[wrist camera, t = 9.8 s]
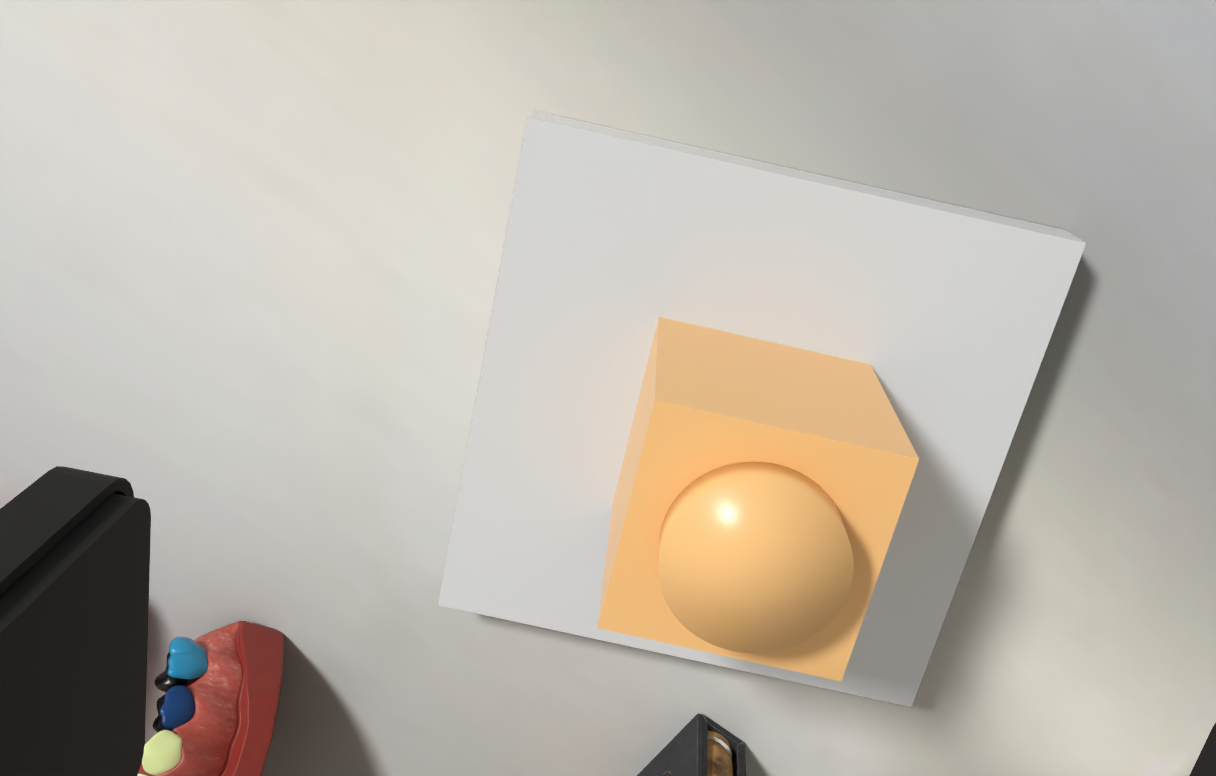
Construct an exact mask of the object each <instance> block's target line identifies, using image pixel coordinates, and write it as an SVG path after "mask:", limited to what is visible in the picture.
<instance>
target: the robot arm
mask: <svg viewBox="0 0 1216 776" xmlns="http://www.w3.org/2000/svg"><path fill="white" fill-rule="evenodd" d="M150 528H151V514H150V507H149V504H148V503H147V502H146V501H145V500H143V499H138V498H134V494H133V490H132V487H131V484H130V483H129V482H128V481H127V480H126V479H124V478H119V477H114V476H109V475H104V474H99V473H94V472H89V471H84V470H79V469H73V468H68V467H58V466H57V467H55V468H53V469H51V470H49V471H48V472H47V473H45V474H44V475H43V476H42V477H40V478H39V479H38V480H37V481H35V482H34V483H33V484H31V485H30V486H29V487H28V488H26V489H25V490H24V491H23V492H21V493H20V494H19V495H18V496H16V497H15V498H14V499H12V500H11V501H10V502H9V503H7V504H6V505H5V506H4V507H2V508H1V509H0V776H137V775H138V772H139V769H140V766H141V763H142V758H143V754H144V744H145V708H146V672H147V636H148V600H149V564H150ZM1190 776H1216V723H1215V725H1214V726H1213V728H1212V730H1211V732H1210V734H1209V736H1208V738H1207V741H1206V743H1205V745H1204V747H1203V749H1202V751H1201V753H1200V755H1199V757H1198V759H1197V761H1196V763H1195V766H1194V768H1193V770H1192V772H1191V774H1190Z"/></svg>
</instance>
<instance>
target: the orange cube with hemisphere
mask: <svg viewBox="0 0 1216 776" xmlns="http://www.w3.org/2000/svg"><path fill="white" fill-rule="evenodd" d="M918 462H919V458H918V456H917V454H916V452H915V450H914V448H913V446H912V444H911V442H910V440H909V438H908V436H907V434H906V432H905V430H904V428H903V426H902V425H901V423H900V421H899V419H898V417H897V415H896V413H895V411H894V409H893V407H892V405H891V403H890V401H889V399H888V397H887V395H886V393H885V392H884V390H883V388H882V386H881V384H880V382H879V380H878V378H877V376H876V374H875V372H874V370H873V368H872V366H871V365H870V364H866V363H861V362H857V361H853V360H848V359H844V358H839V357H835V356H831V355H826V354H822V353H817V352H813V351H809V350H804V349H800V348H795V347H791V346H787V345H782V344H778V343H773V342H769V341H764V340H760V339H756V338H751V337H747V336H742V335H738V334H734V333H729V332H725V331H720V330H716V329H712V328H707V327H703V326H698V325H694V324H689V323H685V322H681V321H676V320H672V319H667V318H663V317H658V321H657V326H656V330H655V334H654V338H653V342H652V346H651V350H650V354H649V358H648V362H647V366H646V370H645V374H644V379H643V383H642V387H641V391H640V395H639V399H638V403H637V407H636V411H635V415H634V419H633V423H632V428H631V432H630V436H629V440H628V444H627V448H626V452H625V456H624V460H623V464H622V468H621V472H620V476H619V481H618V485H617V489H616V493H615V497H614V501H613V505H612V511H611V519H610V527H609V536H608V544H607V552H606V561H605V569H604V578H603V586H602V594H601V603H600V611H599V619H598V628H600V629H605V630H609V631H614V632H618V633H623V634H627V635H632V636H636V637H641V638H646V639H650V640H655V641H659V642H664V643H668V644H673V645H677V646H682V647H686V648H691V649H696V650H700V651H705V652H709V653H714V654H718V655H723V656H727V657H732V658H736V659H741V660H745V661H750V662H755V663H759V664H764V665H768V666H773V667H777V668H782V669H786V670H791V671H795V672H800V673H805V674H809V675H814V676H818V677H823V678H827V679H832V680H836V681H842V678H843V675H844V672H845V670H846V667H847V664H848V661H849V658H850V655H851V653H852V650H853V647H854V644H855V641H856V638H857V635H858V633H859V630H860V627H861V624H862V621H863V618H864V615H865V613H866V610H867V607H868V604H869V601H870V598H871V596H872V593H873V590H874V587H875V584H876V581H877V578H878V576H879V573H880V570H881V567H882V564H883V561H884V558H885V556H886V553H887V550H888V547H889V544H890V541H891V539H892V536H893V533H894V530H895V527H896V524H897V521H898V519H899V516H900V513H901V510H902V507H903V504H904V501H905V499H906V496H907V493H908V490H909V487H910V484H911V482H912V479H913V476H914V473H915V470H916V467H917V464H918Z"/></svg>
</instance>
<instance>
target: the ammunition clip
mask: <svg viewBox="0 0 1216 776" xmlns="http://www.w3.org/2000/svg"><path fill="white" fill-rule="evenodd" d="M637 776H746V763H745V744H744V742H742V741H741V740H739V739H738V738H736V737H735V736H733V735H732V734H730V733H729V732H728V731H726V730H725V729H723V728H722V727H720V726H719V725H717V724H716V723H714V722H713V721H711V720H710V719H709V718H707V717H706V716H704V715H703V714H699V713H698V714H697V715H696V716H695V717H694V718H693V719H692V720H691V721H690V722H689V723H688V724H687V725H686V726H685V727H684V728H683V729H682V730H681V731H680V732H679V733H678V734H677V735H676V736H675V737H674V738H673V740H672V741H671V742H670V743H669V744H668V745H667V746H666V747H665V748H664V749H663V750H662V751H661V752H660V753H659V754H658V755H657V756H656V757H655V758H654V759H653V760H652V761H651V762H650V763H649V764H648V765H647V766H646V767H645V768H644V769H643V770H642V771H641V772H640V773H639V774H638V775H637Z"/></svg>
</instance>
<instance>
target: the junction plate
mask: <svg viewBox="0 0 1216 776" xmlns="http://www.w3.org/2000/svg"><path fill="white" fill-rule="evenodd" d="M1085 245H1086V243H1085V242H1084V241H1082V240H1080V239H1079V238H1077V237H1076V236H1074V235H1072V234H1071V233H1069V232H1068V231H1066V230H1062V229H1058V228H1053V227H1049V226H1044V225H1040V224H1036V223H1031V222H1027V221H1022V220H1018V219H1013V218H1009V217H1004V216H1000V215H996V214H991V213H987V212H982V211H978V210H973V209H969V208H965V207H960V206H956V205H951V204H947V203H942V202H938V201H934V200H929V199H925V198H920V197H916V196H911V195H907V194H903V193H898V192H894V191H889V190H885V189H880V188H876V187H872V186H867V185H863V184H858V183H854V182H849V181H845V180H841V179H836V178H832V177H827V176H823V175H818V174H814V173H810V172H805V171H801V170H796V169H792V168H787V167H783V166H779V165H774V164H770V163H765V162H761V161H756V160H752V159H748V158H743V157H739V156H734V155H730V154H725V153H721V152H717V151H712V150H708V149H703V148H699V147H694V146H690V145H686V144H681V143H677V142H672V141H668V140H663V139H659V138H655V137H650V136H646V135H641V134H637V133H632V132H628V131H623V130H619V129H615V128H610V127H606V126H601V125H597V124H592V123H588V122H584V121H579V120H575V119H570V118H566V117H561V116H557V115H553V114H548V113H544V112H539V111H533V112H532V113H531V114H530V115H529V116H528V117H527V121H526V126H525V132H524V137H523V143H522V148H521V154H520V159H519V165H518V170H517V175H516V181H515V186H514V192H513V197H512V203H511V208H510V214H509V219H508V225H507V230H506V235H505V241H504V246H503V252H502V257H501V263H500V268H499V274H498V279H497V285H496V290H495V296H494V301H493V306H492V312H491V317H490V323H489V328H488V334H487V339H486V345H485V350H484V356H483V361H482V366H481V372H480V377H479V383H478V388H477V394H476V399H475V405H474V410H473V416H472V421H471V427H470V432H469V437H468V443H467V448H466V454H465V459H464V465H463V470H462V476H461V481H460V487H459V492H458V497H457V503H456V508H455V514H454V519H453V525H452V530H451V536H450V541H449V547H448V552H447V558H446V563H445V568H444V574H443V579H442V585H441V590H440V596H439V601H438V605H440V606H445V607H449V608H454V609H459V610H463V611H468V612H473V613H477V614H482V615H486V616H491V617H496V618H500V619H505V620H510V621H514V622H519V623H523V624H528V625H533V626H537V627H542V628H547V629H551V630H556V631H560V632H565V633H570V634H574V635H579V636H584V637H588V638H593V639H597V640H602V641H607V642H611V643H616V644H621V645H625V646H630V647H635V648H639V649H644V650H648V651H653V652H658V653H662V654H667V655H672V656H676V657H681V658H685V659H690V660H695V661H699V662H704V663H709V664H713V665H718V666H722V667H727V668H732V669H736V670H741V671H746V672H750V673H755V674H759V675H764V676H769V677H773V678H778V679H783V680H787V681H792V682H797V683H801V684H806V685H810V686H815V687H820V688H824V689H829V690H834V691H838V692H843V693H847V694H852V695H857V696H861V697H866V698H871V699H875V700H880V701H884V702H889V703H894V704H898V705H903V706H908V707H912V705H913V702H914V699H915V697H916V694H917V691H918V689H919V686H920V684H921V681H922V678H923V676H924V673H925V670H926V668H927V665H928V662H929V660H930V657H931V654H932V652H933V649H934V646H935V644H936V641H937V638H938V636H939V633H940V630H941V628H942V625H943V622H944V620H945V617H946V614H947V612H948V609H949V606H950V604H951V601H952V599H953V596H954V593H955V591H956V588H957V585H958V583H959V580H960V577H961V575H962V572H963V569H964V567H965V564H966V561H967V559H968V556H969V553H970V551H971V548H972V545H973V543H974V540H975V537H976V535H977V532H978V529H979V527H980V524H981V521H982V519H983V516H984V514H985V511H986V508H987V506H988V503H989V500H990V498H991V495H992V492H993V490H994V487H995V484H996V482H997V479H998V476H999V474H1000V471H1001V468H1002V466H1003V463H1004V460H1005V458H1006V455H1007V452H1008V450H1009V447H1010V444H1011V442H1012V439H1013V436H1014V434H1015V431H1016V429H1017V426H1018V423H1019V421H1020V418H1021V415H1022V413H1023V410H1024V407H1025V405H1026V402H1027V399H1028V397H1029V394H1030V391H1031V389H1032V386H1033V383H1034V381H1035V378H1036V375H1037V373H1038V370H1039V367H1040V365H1041V362H1042V359H1043V357H1044V354H1045V351H1046V349H1047V346H1048V344H1049V341H1050V338H1051V336H1052V333H1053V330H1054V328H1055V325H1056V322H1057V320H1058V317H1059V314H1060V312H1061V309H1062V306H1063V304H1064V301H1065V298H1066V296H1067V293H1068V290H1069V288H1070V285H1071V282H1072V280H1073V277H1074V274H1075V272H1076V269H1077V266H1078V264H1079V261H1080V259H1081V256H1082V253H1083V251H1084V248H1085ZM658 317H663V318H667V319H672V320H676V321H681V322H685V323H689V324H694V325H698V326H703V327H707V328H712V329H716V330H720V331H725V332H729V333H734V334H738V335H742V336H747V337H751V338H756V339H760V340H764V341H769V342H773V343H778V344H782V345H787V346H791V347H795V348H800V349H804V350H809V351H813V352H817V353H822V354H826V355H831V356H835V357H839V358H844V359H848V360H853V361H857V362H861V363H866V364H870V365H871V366H872V368H873V370H874V372H875V374H876V376H877V378H878V380H879V382H880V384H881V386H882V388H883V390H884V392H885V393H886V395H887V397H888V399H889V401H890V403H891V405H892V407H893V409H894V411H895V413H896V415H897V417H898V419H899V421H900V423H901V425H902V426H903V428H904V430H905V432H906V434H907V436H908V438H909V440H910V442H911V444H912V446H913V448H914V450H915V452H916V454H917V456H918V458H919V462H918V464H917V467H916V470H915V473H914V476H913V479H912V482H911V484H910V487H909V490H908V493H907V496H906V499H905V501H904V504H903V507H902V510H901V513H900V516H899V519H898V521H897V524H896V527H895V530H894V533H893V536H892V539H891V541H890V544H889V547H888V550H887V553H886V556H885V558H884V561H883V564H882V567H881V570H880V573H879V576H878V578H877V581H876V584H875V587H874V590H873V593H872V596H871V598H870V601H869V604H868V607H867V610H866V613H865V615H864V618H863V621H862V624H861V627H860V630H859V633H858V635H857V638H856V641H855V644H854V647H853V650H852V653H851V655H850V658H849V661H848V664H847V667H846V670H845V672H844V675H843V678H842V681H836V680H832V679H827V678H823V677H818V676H814V675H809V674H805V673H800V672H795V671H791V670H786V669H782V668H777V667H773V666H768V665H764V664H759V663H755V662H750V661H745V660H741V659H736V658H732V657H727V656H723V655H718V654H714V653H709V652H705V651H700V650H696V649H691V648H686V647H682V646H677V645H673V644H668V643H664V642H659V641H655V640H650V639H646V638H641V637H636V636H632V635H627V634H623V633H618V632H614V631H609V630H605V629H600V628H598V619H599V611H600V603H601V594H602V586H603V578H604V569H605V561H606V552H607V544H608V536H609V527H610V519H611V511H612V505H613V501H614V497H615V493H616V489H617V485H618V481H619V476H620V472H621V468H622V464H623V460H624V456H625V452H626V448H627V444H628V440H629V436H630V432H631V428H632V423H633V419H634V415H635V411H636V407H637V403H638V399H639V395H640V391H641V387H642V383H643V379H644V374H645V370H646V366H647V362H648V358H649V354H650V350H651V346H652V342H653V338H654V334H655V330H656V326H657V321H658Z"/></svg>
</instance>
